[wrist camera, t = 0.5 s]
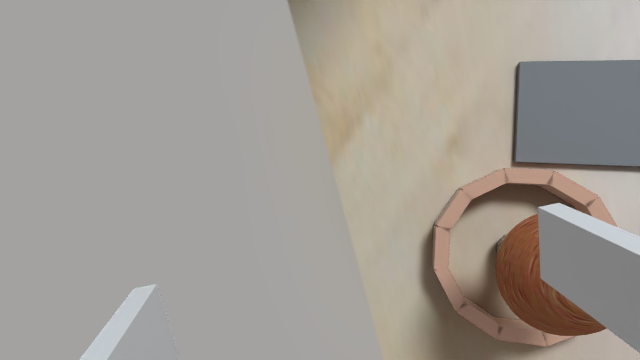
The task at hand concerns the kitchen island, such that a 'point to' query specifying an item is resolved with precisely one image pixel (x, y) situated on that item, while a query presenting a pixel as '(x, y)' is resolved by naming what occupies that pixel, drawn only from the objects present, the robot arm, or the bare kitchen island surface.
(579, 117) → the mat
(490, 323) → the ring
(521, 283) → the mushroom
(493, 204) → the kitchen island surface
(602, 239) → the robot arm
